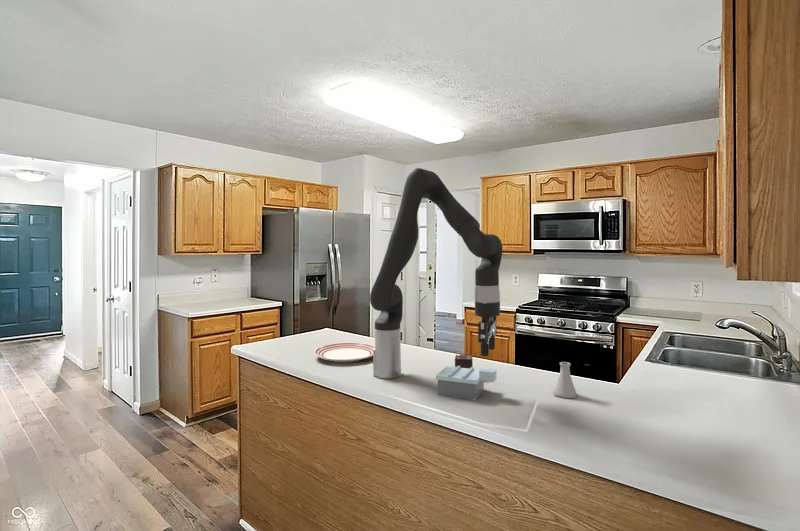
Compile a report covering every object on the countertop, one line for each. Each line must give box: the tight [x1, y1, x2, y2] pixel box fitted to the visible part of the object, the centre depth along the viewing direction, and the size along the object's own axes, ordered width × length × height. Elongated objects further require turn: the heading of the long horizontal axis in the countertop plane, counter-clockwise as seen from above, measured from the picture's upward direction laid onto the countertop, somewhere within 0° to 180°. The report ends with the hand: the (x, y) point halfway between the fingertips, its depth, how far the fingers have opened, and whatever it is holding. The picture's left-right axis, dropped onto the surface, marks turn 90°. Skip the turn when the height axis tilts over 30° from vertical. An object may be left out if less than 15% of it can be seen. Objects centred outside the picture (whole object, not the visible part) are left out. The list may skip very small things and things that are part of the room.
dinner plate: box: [313, 341, 375, 363], centre depth 184 cm, size 28×27×3 cm
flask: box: [552, 361, 578, 399], centre depth 134 cm, size 7×7×10 cm
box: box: [454, 354, 473, 369], centre depth 153 cm, size 6×6×7 cm
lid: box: [435, 365, 497, 384], centre depth 135 cm, size 17×11×3 cm, turn 66°
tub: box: [437, 380, 485, 401], centre depth 136 cm, size 12×10×6 cm
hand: (488, 352), depth 132 cm, fingers open, 8 cm apart
